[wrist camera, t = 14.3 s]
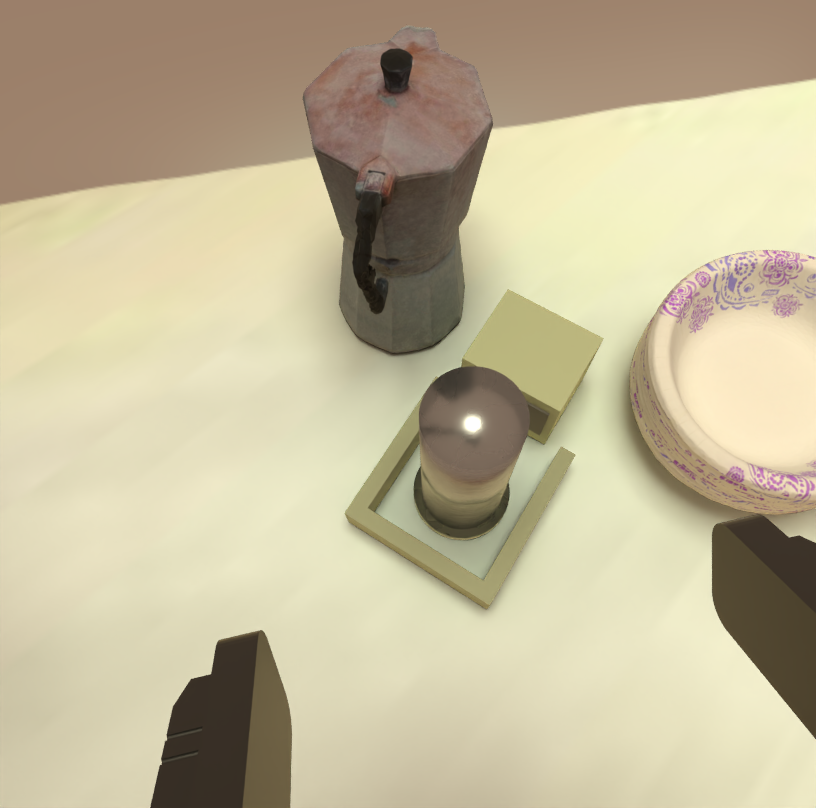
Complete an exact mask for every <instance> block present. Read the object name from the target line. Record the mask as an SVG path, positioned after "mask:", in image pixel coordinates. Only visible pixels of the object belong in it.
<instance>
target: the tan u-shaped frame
mask: <svg viewBox="0 0 816 808" xmlns="http://www.w3.org/2000/svg"><path fill="white" fill-rule="evenodd" d="M603 339H604V338H602V337H600V336H598V335H596V334H594V333H592V332H590V331H588V330H586V329H584V328H582V327H580V326H578V325H576V324H574V323H573V322H571V321H569V320H567V319H565V318H563V317H561V316H559V315H557V314H555V313H553V312H551V311H549V310H547V309H545V308H543V307H541V306H540V305H538V304H536V303H534V302H532V301H530V300H528V299H526V298H524V297H522V296H520V295H518V294H516V293H514V292H512V291H510V290H507V292H506V293H505V295H504V296H503V298H502V299H501V301H500V302H499V304H498V305H497V307H496V308H495V310H494V311H493V313H492V314H491V316H490V317H489V319H488V320H487V322H486V323H485V325H484V326H483V328H482V329H481V331H480V332H479V334H478V335H477V337H476V339H475V340H474V342H473V343H472V345H471V346H470V348H469V349H468V351H467V352H466V354H465V355H464V357H463V358H462V367H467V366H478V367H485V368H489V369H492V370H495V371H497V372H499V373H502V374H503V375H505V376H506V377H508V378H509V379H510V380H511V381H513V382H514V383H515V384H516V385H517V387H518V388H519V389H520V391H521V392H522V394H523V395H524V397H525V399H526V402H527V404H528V409H529V415H530V425H529V430H528V434H527V435H528V436H530V437H532V438H534V439H535V440H537V441H539V442H541V443H542V444H545V442H546V441H547V439H548V437H549V436H550V434H551V432H552V430H553V429H554V427H555V425H556V424H557V422H558V420H559V419H560V417H561V415H562V413H563V412H564V410H565V408H566V407H567V405H568V403H569V401H570V400H571V398H572V396H573V395H574V393H575V391H576V390H577V388H578V386H579V384H580V383H581V381H582V379H583V378H584V376H585V374H586V372H587V370H588V368H589V366H590V364H591V362H592V360H593V358H594V356H595V354H596V352H597V350H598V348H599V346H600V344H601V342H602V340H603ZM437 378H438V377H435V379H434V380H433V382H434V381H435V380H436V379H437ZM433 382H432V383H433ZM432 383H431V384H432ZM423 396H424V395H423ZM422 398H423V397H422ZM422 398H421V400H420V401H419V403H418V404H417V406H416V407H415V409H414V410H413V412H412V413H411V415H410V416H409V418H408V419H407V421H406V422H405V424H404V425H403V427H402V428H401V430H400V431H399V433H398V434H397V436H396V437H395V439H394V440H393V442H392V443H391V445H390V446H389V448H388V449H387V451H386V452H385V454H384V455H383V457H382V458H381V460H380V461H379V463H378V464H377V466H376V467H375V469H374V470H373V471H372V473H371V474H370V476H369V477H368V479H367V480H366V482H365V483H364V485H363V486H362V488H361V489H360V491H359V492H358V494H357V495H356V497H355V498H354V500H353V501H352V503H351V504H350V506H349V507H348V509H347V510H346V512H345V515H346V517H347V519H348V521H349V522H350V523H351V524H353V525H355V526H356V527H358V528H359V529H361V530H362V531H364V532H366V533H367V534H369V535H370V536H372V537H373V538H375V539H377V540H378V541H380V542H381V543H383V544H384V545H386V546H388V547H389V548H391V549H392V550H394V551H395V552H397V553H399V554H400V555H402V556H403V557H405V558H406V559H408V560H410V561H411V562H413V563H414V564H416V565H417V566H419V567H421V568H422V569H424V570H425V571H427V572H428V573H430V574H432V575H433V576H435V577H436V578H438V579H440V580H441V581H443V582H444V583H446V584H447V585H449V586H451V587H452V588H454V589H455V590H457V591H458V592H460V593H462V594H463V595H465V596H466V597H468V598H469V599H471V600H473V601H474V602H476V603H477V604H479V605H480V606H482V607H484V608H485V609H488V607H489V606H490V605H491V603H492V601H493V599H494V598H495V596H496V594H497V592H498V591H499V589H500V587H501V585H502V584H503V582H504V580H505V578H506V577H507V575H508V573H509V571H510V569H511V568H512V566H513V564H514V562H515V561H516V559H517V557H518V555H519V554H520V552H521V550H522V548H523V547H524V545H525V543H526V541H527V540H528V538H529V536H530V534H531V533H532V531H533V529H534V527H535V525H536V524H537V522H538V520H539V518H540V517H541V515H542V513H543V511H544V510H545V508H546V506H547V504H548V503H549V501H550V499H551V497H552V496H553V494H554V492H555V490H556V488H557V487H558V485H559V483H560V481H561V480H562V478H563V476H564V474H565V473H566V471H567V469H568V467H569V466H570V464H571V462H572V460H573V459H574V457H575V454H574V453H572V452H570V451H568V450H566V449H565V448H563V447H560V449H559V451H558V453H557V454H556V456H555V458H554V460H553V461H552V463H551V465H550V467H549V468H548V470H547V472H546V473H545V475H544V477H543V479H542V480H541V482H540V484H539V486H538V487H537V489H536V491H535V492H534V494H533V496H532V498H531V499H530V501H529V503H528V505H527V506H526V508H525V510H524V512H523V513H522V515H521V517H520V518H519V520H518V522H517V524H516V525H515V527H514V529H513V531H512V532H511V534H510V536H509V537H508V539H507V541H506V543H505V544H504V546H503V548H502V550H501V551H500V553H499V555H498V556H497V558H496V560H495V562H494V563H493V565H492V567H491V569H490V570H489V572H488V574H487V576H486V577H485V579H484V581H483V580H482V579H480V578H479V577H477V576H475V575H474V574H472V573H471V572H469V571H467V570H466V569H464V568H463V567H461V566H459V565H458V564H456V563H455V562H453V561H451V560H450V559H448V558H447V557H445V556H443V555H442V554H440V553H439V552H437V551H435V550H434V549H432V548H431V547H429V546H427V545H426V544H424V543H423V542H421V541H419V540H418V539H416V538H415V537H413V536H412V535H410V534H408V533H407V532H405V531H404V530H402V529H400V528H399V527H397V526H396V525H394V524H392V523H391V522H389V521H388V520H386V519H384V518H383V517H381V516H380V515H378V514H376V513H375V510H376V509H377V507H378V505H379V504H380V502H381V501H382V499H383V498H384V496H385V495H386V493H387V492H388V490H389V489H390V487H391V486H392V484H393V483H394V481H395V479H396V478H397V476H398V475H399V473H400V472H401V470H402V469H403V467H404V466H405V464H406V463H407V461H408V460H409V458H410V457H411V455H412V453H413V452H414V450H415V449H416V447H417V446H418V444H419V443H420V437H419V408H420V404H421V401H422Z"/></svg>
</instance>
